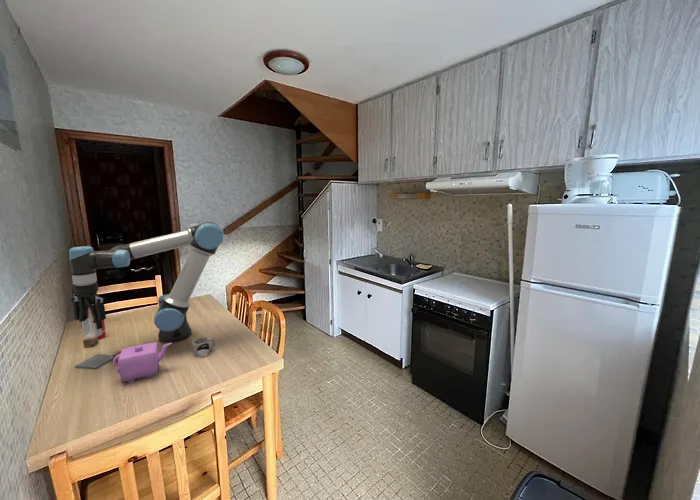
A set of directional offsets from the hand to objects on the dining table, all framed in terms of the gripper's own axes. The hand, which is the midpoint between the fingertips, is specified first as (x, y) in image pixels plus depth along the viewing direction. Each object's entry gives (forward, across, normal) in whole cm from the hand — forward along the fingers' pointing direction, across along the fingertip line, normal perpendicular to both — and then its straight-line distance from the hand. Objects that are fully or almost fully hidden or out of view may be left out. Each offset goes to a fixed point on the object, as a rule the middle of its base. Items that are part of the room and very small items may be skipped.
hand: (92, 335), depth 127 cm
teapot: (+13, -28, +5) cm, 31 cm away
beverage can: (+13, +21, -21) cm, 32 cm away
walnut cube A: (+13, +17, -13) cm, 25 cm away
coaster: (+13, 0, 0) cm, 13 cm away
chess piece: (+1, 0, 0) cm, 1 cm away
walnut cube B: (+13, -10, -2) cm, 16 cm away
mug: (+13, -42, -14) cm, 46 cm away
